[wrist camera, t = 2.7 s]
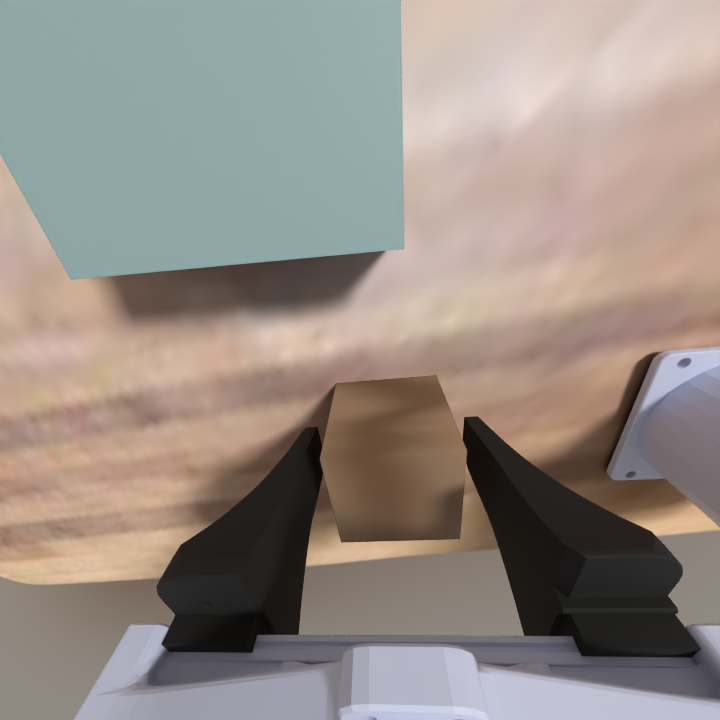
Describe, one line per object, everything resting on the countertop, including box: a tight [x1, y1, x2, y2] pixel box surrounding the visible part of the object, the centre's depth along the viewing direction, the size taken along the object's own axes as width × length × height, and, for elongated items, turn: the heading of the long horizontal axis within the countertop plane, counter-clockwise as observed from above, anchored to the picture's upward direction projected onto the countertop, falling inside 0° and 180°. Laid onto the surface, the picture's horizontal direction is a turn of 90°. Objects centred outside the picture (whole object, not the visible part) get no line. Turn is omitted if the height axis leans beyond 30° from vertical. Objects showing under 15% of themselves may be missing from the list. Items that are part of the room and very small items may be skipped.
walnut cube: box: [320, 375, 467, 542], centre depth 13 cm, size 5×5×5 cm
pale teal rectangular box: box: [0, 0, 404, 280], centre depth 7 cm, size 10×10×4 cm
